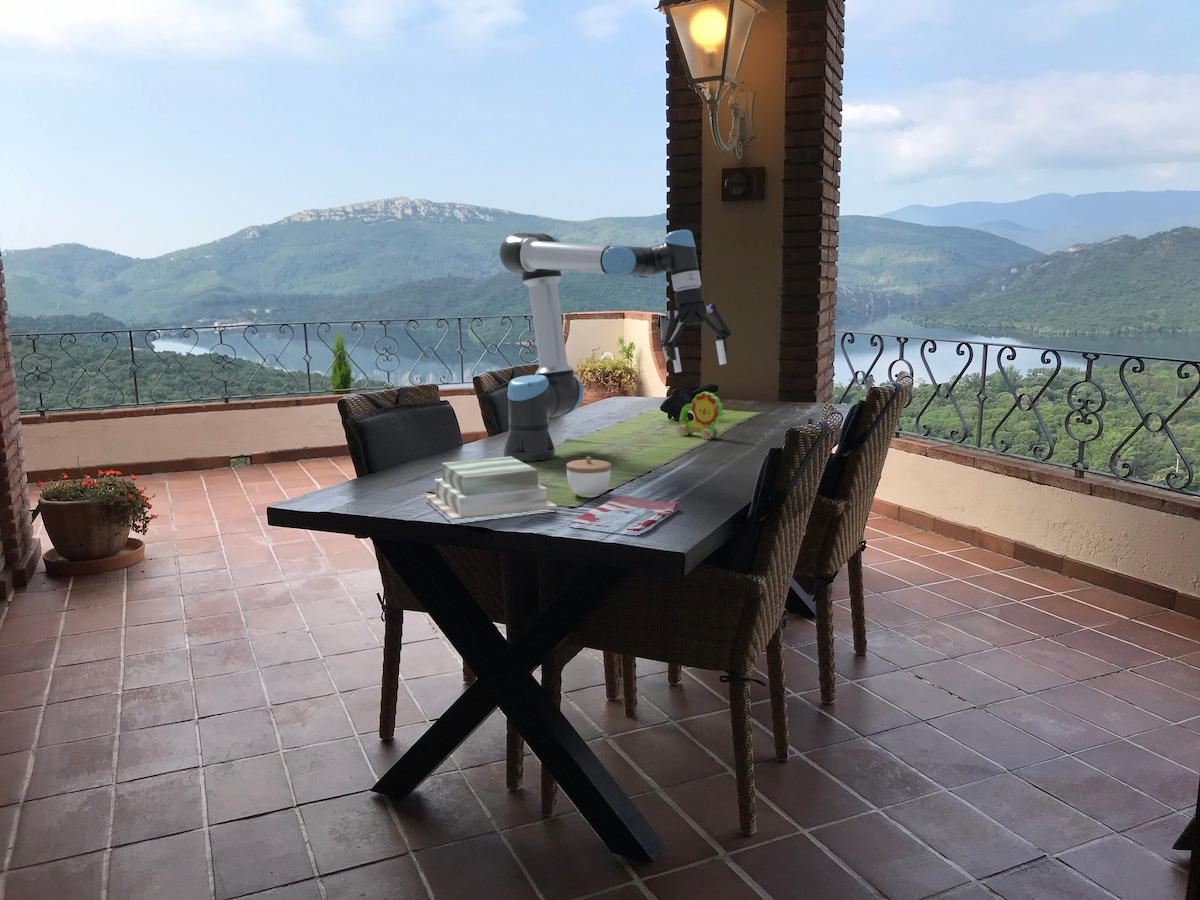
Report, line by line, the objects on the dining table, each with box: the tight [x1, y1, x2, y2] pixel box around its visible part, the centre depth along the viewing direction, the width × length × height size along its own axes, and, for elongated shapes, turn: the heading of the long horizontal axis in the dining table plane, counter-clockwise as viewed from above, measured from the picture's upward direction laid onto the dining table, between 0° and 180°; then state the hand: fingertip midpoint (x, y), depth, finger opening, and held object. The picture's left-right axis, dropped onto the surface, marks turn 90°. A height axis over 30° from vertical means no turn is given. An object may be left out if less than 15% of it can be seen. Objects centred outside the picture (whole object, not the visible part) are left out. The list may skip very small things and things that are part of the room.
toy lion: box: [676, 391, 724, 440], centre depth 287 cm, size 16×5×15 cm, turn 47°
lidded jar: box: [566, 456, 612, 495], centre depth 211 cm, size 11×11×9 cm
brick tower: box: [425, 456, 558, 520], centre depth 201 cm, size 22×24×10 cm
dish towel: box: [569, 495, 680, 531], centre depth 192 cm, size 17×23×3 cm
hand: (701, 368), depth 236 cm, fingers open, 13 cm apart
